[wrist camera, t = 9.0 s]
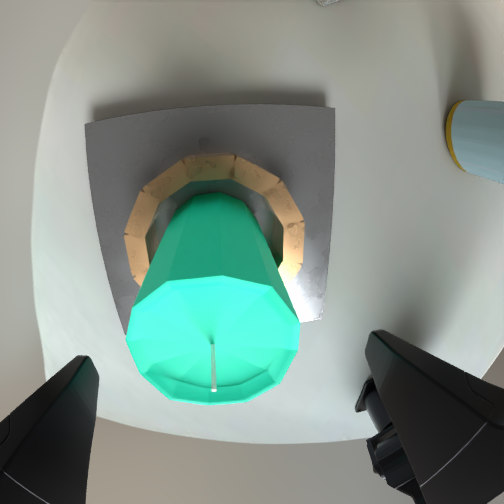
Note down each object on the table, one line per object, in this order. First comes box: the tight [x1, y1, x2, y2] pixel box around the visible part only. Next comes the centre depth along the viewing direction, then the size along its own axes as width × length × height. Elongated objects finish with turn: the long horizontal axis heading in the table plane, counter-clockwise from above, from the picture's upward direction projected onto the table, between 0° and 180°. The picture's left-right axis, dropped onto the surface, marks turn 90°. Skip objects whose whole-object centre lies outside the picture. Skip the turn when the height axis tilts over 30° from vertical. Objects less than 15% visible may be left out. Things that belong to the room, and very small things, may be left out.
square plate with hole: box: [85, 104, 335, 335], centre depth 18 cm, size 16×16×4 cm
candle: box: [126, 192, 300, 405], centre depth 13 cm, size 6×6×12 cm
